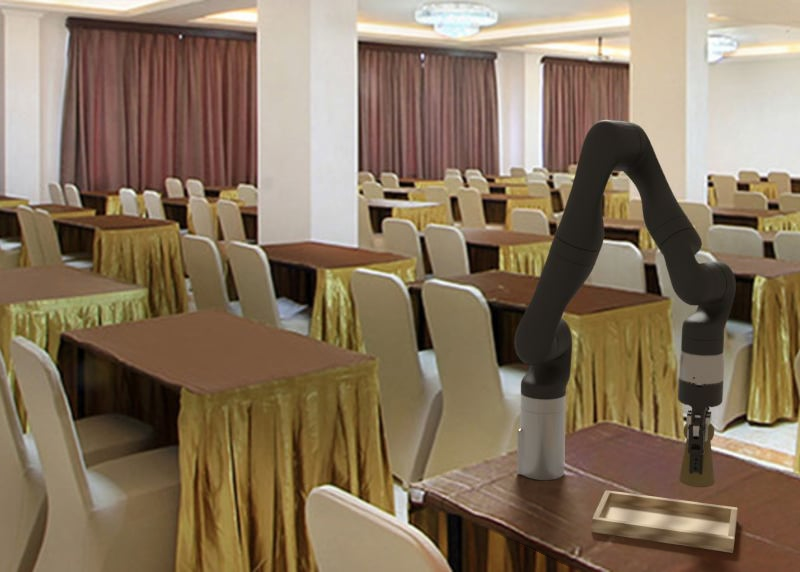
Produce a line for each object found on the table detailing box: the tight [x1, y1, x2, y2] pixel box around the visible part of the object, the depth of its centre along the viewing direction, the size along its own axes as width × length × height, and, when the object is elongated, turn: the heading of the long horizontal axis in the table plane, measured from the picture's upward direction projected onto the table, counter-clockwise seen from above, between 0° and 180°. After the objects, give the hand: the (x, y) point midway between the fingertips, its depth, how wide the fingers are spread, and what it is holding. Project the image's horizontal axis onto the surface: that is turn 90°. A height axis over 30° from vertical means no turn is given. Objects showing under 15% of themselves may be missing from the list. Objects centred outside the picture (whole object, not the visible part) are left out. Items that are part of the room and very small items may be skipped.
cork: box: [678, 422, 715, 488], centre depth 169 cm, size 6×6×11 cm
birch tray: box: [591, 489, 738, 554], centre depth 173 cm, size 24×14×2 cm, turn 69°
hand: (696, 468), depth 170 cm, fingers closed on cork, 4 cm apart
